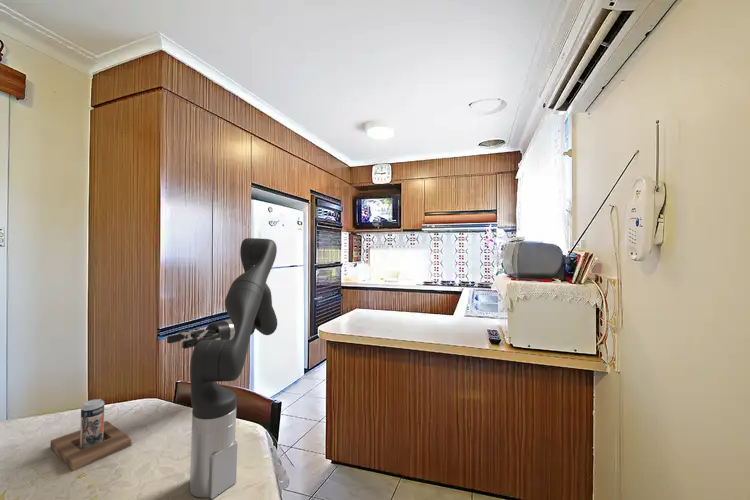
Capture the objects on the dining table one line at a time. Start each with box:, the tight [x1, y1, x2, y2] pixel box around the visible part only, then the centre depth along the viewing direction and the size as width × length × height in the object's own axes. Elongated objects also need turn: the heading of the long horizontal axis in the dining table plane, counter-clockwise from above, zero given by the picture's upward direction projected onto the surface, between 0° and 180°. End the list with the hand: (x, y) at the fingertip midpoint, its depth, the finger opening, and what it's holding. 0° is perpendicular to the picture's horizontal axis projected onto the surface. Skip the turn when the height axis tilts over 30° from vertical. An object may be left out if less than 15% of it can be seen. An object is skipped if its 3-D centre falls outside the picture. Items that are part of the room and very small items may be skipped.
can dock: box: [49, 420, 132, 472], centre depth 86 cm, size 16×12×2 cm
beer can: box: [79, 398, 105, 450], centre depth 86 cm, size 5×5×12 cm
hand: (174, 342), depth 95 cm, fingers open, 8 cm apart
